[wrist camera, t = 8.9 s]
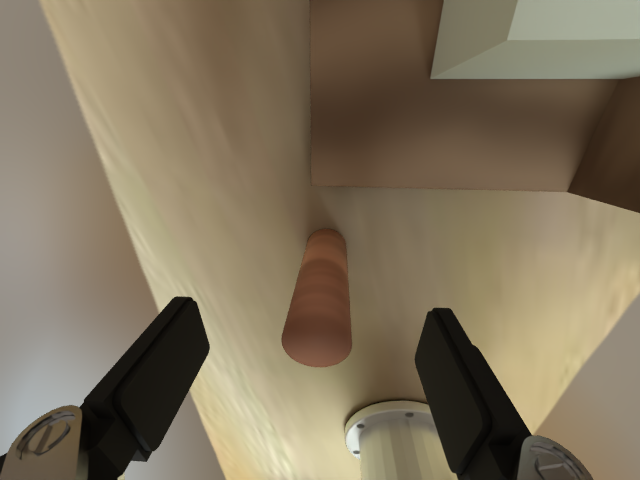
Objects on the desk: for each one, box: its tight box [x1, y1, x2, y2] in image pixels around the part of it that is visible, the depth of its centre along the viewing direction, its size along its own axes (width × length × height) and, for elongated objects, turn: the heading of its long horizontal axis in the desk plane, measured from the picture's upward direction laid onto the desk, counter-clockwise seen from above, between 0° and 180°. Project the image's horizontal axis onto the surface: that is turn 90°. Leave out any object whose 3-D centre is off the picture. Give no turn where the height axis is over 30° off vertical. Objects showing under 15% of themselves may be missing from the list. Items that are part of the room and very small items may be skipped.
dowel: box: [282, 229, 352, 367], centre depth 14 cm, size 3×3×9 cm
